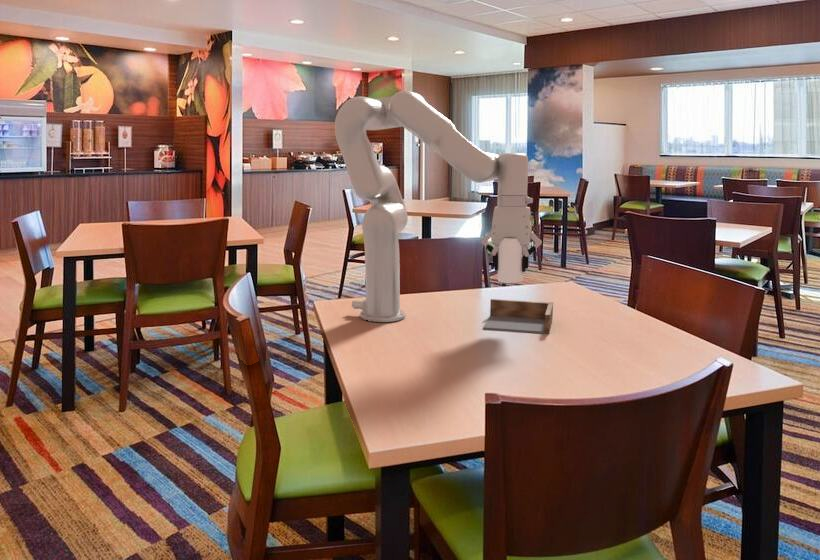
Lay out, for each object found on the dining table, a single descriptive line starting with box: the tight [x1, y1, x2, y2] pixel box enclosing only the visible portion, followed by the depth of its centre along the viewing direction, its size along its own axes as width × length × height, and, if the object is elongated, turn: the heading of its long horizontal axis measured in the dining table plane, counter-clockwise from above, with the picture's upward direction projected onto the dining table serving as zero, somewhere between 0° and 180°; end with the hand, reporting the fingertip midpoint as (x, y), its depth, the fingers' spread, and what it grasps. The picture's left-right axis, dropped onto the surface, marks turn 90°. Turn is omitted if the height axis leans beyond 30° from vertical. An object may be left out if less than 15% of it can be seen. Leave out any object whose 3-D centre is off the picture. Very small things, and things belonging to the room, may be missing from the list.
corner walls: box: [489, 298, 554, 335], centre depth 179 cm, size 17×14×5 cm
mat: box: [482, 315, 551, 334], centre depth 179 cm, size 17×14×1 cm
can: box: [497, 237, 524, 285], centre depth 174 cm, size 6×6×12 cm
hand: (510, 269), depth 175 cm, fingers closed on can, 6 cm apart
